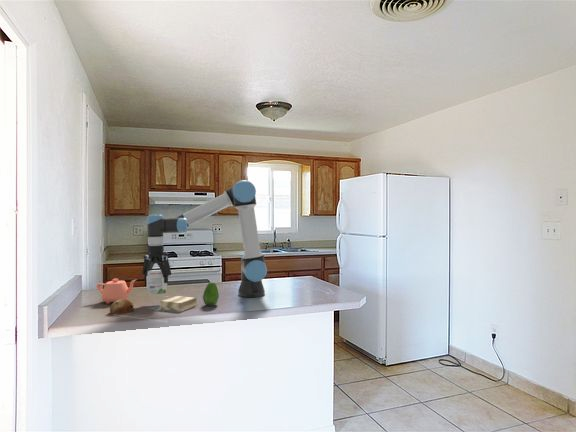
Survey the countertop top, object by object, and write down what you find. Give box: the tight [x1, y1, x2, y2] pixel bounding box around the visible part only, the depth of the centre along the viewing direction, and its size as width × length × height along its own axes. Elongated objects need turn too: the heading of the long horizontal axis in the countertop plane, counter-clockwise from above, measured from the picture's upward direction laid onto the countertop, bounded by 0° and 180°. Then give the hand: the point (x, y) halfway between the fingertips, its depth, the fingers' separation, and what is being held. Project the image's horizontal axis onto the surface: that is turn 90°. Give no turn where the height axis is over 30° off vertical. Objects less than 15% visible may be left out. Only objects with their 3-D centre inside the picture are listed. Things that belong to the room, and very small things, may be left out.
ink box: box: [147, 269, 167, 296], centre depth 196 cm, size 8×5×12 cm, turn 108°
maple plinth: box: [160, 295, 197, 313], centre depth 189 cm, size 12×12×4 cm
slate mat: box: [148, 304, 198, 314], centre depth 190 cm, size 18×16×1 cm
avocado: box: [202, 282, 220, 307], centre depth 194 cm, size 8×8×12 cm
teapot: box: [96, 278, 138, 305], centre depth 203 cm, size 13×20×12 cm, turn 101°
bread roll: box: [109, 299, 135, 315], centre depth 182 cm, size 10×10×8 cm
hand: (156, 288), depth 196 cm, fingers closed on ink box, 9 cm apart
